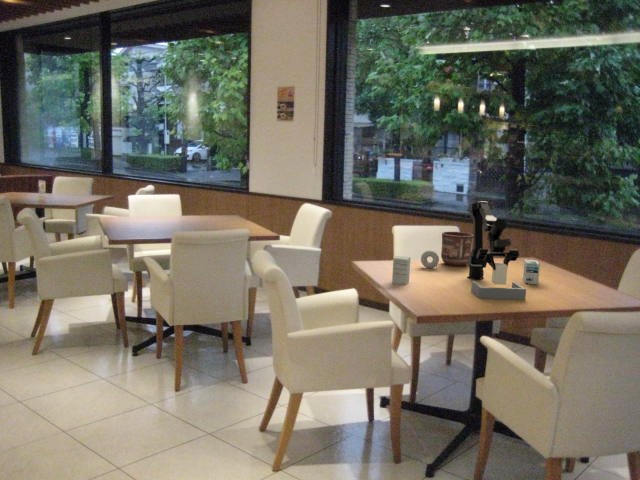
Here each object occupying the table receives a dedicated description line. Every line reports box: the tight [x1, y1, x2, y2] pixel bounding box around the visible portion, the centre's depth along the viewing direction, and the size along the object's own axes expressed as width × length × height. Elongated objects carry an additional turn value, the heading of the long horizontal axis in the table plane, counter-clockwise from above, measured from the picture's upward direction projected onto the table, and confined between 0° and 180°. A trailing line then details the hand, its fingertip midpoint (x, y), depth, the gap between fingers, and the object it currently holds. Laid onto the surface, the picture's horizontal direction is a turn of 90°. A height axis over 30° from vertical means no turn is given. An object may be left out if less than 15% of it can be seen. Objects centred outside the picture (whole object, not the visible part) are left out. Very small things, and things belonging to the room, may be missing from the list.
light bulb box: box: [522, 259, 541, 285], centre depth 323 cm, size 11×7×11 cm, turn 168°
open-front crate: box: [470, 280, 527, 301], centre depth 292 cm, size 14×21×5 cm, turn 93°
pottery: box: [440, 231, 473, 267], centre depth 360 cm, size 18×18×18 cm
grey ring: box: [420, 250, 440, 269], centre depth 348 cm, size 10×4×10 cm, turn 70°
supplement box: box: [391, 255, 411, 285], centre depth 310 cm, size 7×7×13 cm
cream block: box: [491, 262, 508, 286], centre depth 291 cm, size 5×5×9 cm
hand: (500, 270), depth 289 cm, fingers closed on cream block, 5 cm apart
